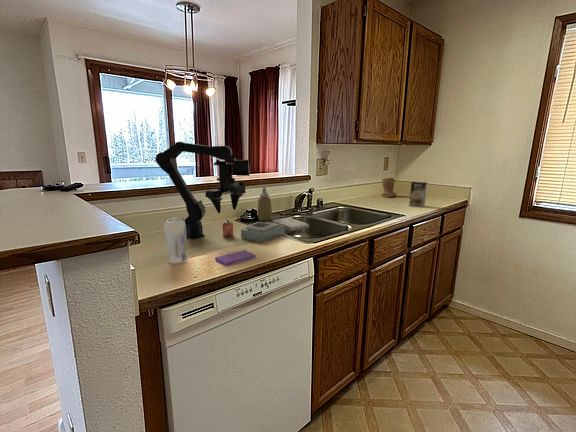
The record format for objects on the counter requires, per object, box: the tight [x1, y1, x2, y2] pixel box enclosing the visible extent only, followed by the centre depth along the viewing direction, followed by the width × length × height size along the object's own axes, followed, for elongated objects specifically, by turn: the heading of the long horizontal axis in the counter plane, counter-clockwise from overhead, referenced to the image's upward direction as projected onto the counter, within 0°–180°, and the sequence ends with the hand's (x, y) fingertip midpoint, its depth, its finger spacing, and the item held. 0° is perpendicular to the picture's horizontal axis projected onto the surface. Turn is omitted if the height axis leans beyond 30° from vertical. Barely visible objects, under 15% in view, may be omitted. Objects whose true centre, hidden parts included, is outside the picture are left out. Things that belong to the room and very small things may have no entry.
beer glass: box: [163, 217, 188, 265], centre depth 108 cm, size 7×7×15 cm
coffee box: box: [408, 180, 428, 208], centre depth 208 cm, size 9×6×16 cm
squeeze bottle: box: [257, 186, 273, 222], centre depth 168 cm, size 8×8×18 cm
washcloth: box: [271, 217, 310, 232], centre depth 158 cm, size 12×18×3 cm, turn 37°
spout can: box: [222, 218, 234, 239], centre depth 139 cm, size 5×5×8 cm
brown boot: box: [380, 177, 398, 198], centre depth 248 cm, size 15×12×15 cm
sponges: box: [215, 249, 256, 267], centre depth 112 cm, size 7×13×2 cm, turn 131°
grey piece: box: [240, 221, 286, 244], centre depth 140 cm, size 19×12×6 cm, turn 145°
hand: (227, 211), depth 137 cm, fingers open, 9 cm apart
